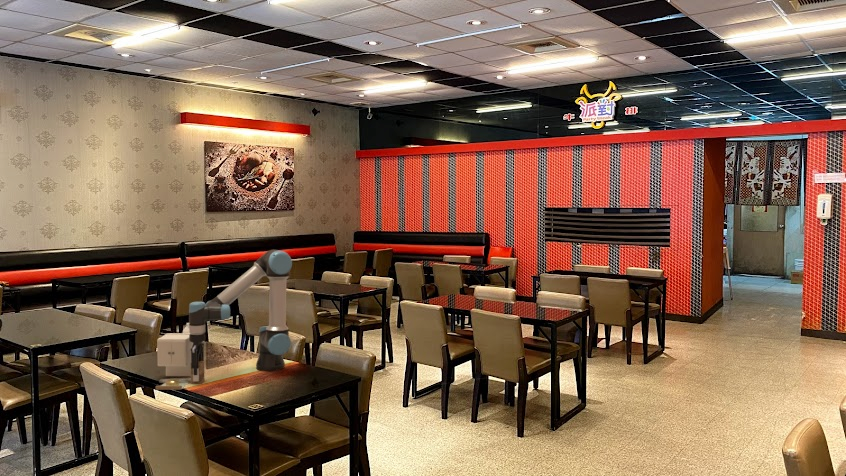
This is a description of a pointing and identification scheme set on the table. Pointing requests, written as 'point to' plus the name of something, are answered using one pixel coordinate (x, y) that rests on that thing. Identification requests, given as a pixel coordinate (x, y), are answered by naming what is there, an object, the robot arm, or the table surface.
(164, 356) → the wall cabinet
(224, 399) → the table surface
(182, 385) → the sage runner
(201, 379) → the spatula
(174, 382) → the brass puck
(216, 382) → the table surface
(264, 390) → the table surface
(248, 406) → the table surface
